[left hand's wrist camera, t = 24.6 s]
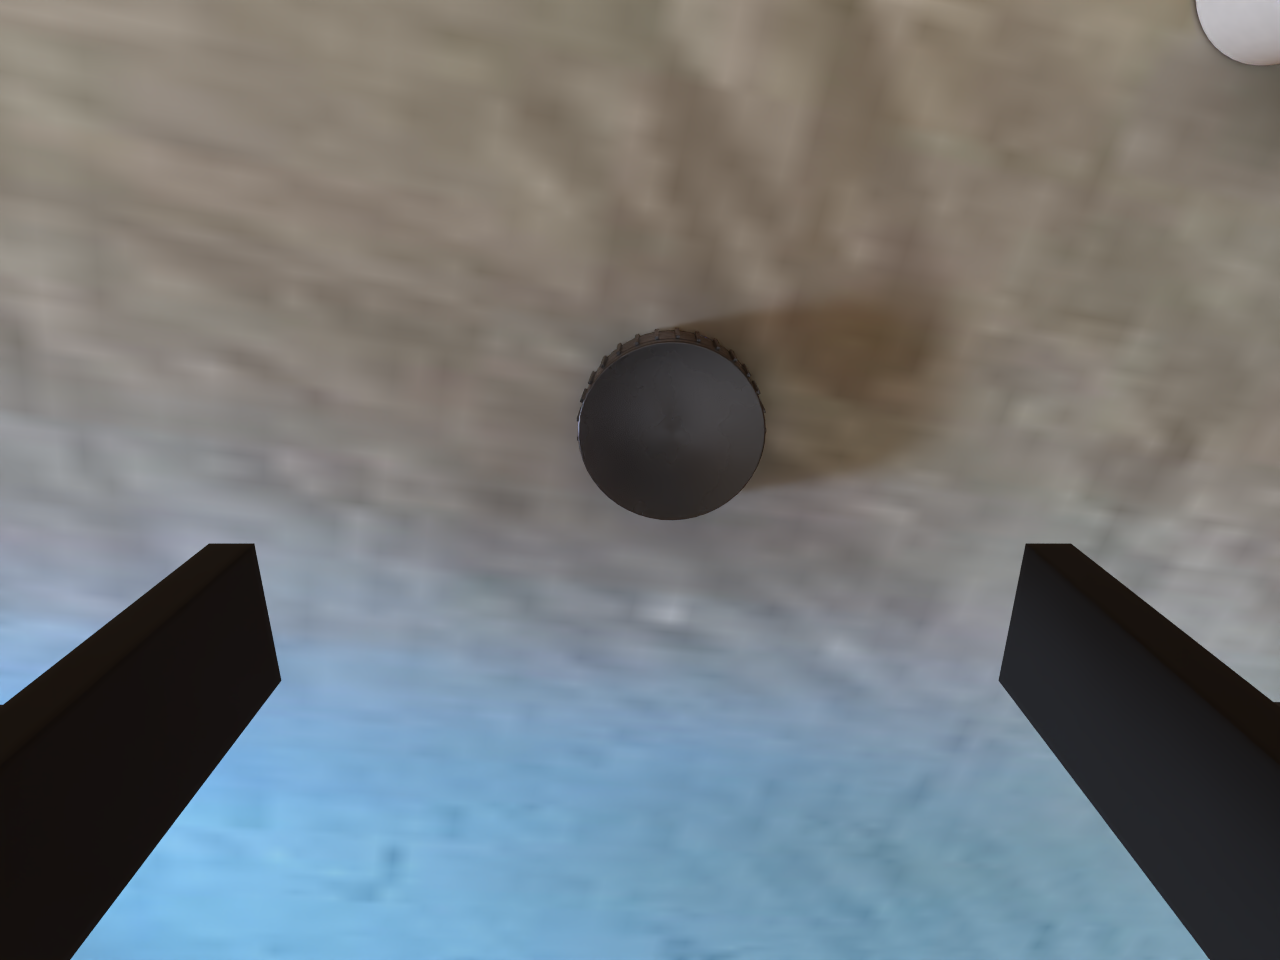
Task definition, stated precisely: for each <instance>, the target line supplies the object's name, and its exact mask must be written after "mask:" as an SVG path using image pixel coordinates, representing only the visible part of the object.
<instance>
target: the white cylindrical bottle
mask: <svg viewBox="0 0 1280 960" xmlns="http://www.w3.org/2000/svg"><path fill="white" fill-rule="evenodd" d="M1196 7H1197V12H1198V16H1199V20H1200V23H1201V25H1202V28H1203V30H1204V32H1205V33H1206V35H1207V37H1208V39H1209V40H1210V41H1211V42H1212V44H1213V45H1214V46H1215V47H1216V48H1217V49H1218V50H1220V51H1221V52H1222V53H1223V54H1225V55H1226V56H1228V57H1230V58H1232V59H1233V60H1236V61H1239V62H1241V63H1245V64H1250V65H1263V66H1265V65H1275V64H1280V0H1196Z"/></svg>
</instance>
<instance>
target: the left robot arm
mask: <svg viewBox="0 0 1280 960" xmlns="http://www.w3.org/2000/svg"><path fill="white" fill-rule="evenodd" d="M280 682H281V677H280V671H279V666H278V661H277V656H276V651H275V646H274V641H273V636H272V631H271V626H270V621H269V616H268V611H267V606H266V601H265V596H264V591H263V586H262V581H261V576H260V571H259V565H258V560H257V555H256V550H255V545H254V544H208V545H207V546H205V547H204V548H203V549H202V550H200V551H199V552H198V553H197V554H195V555H194V556H193V557H191V558H190V559H189V560H188V561H186V562H185V563H184V564H182V565H181V566H180V567H179V568H177V569H176V570H175V571H174V572H172V573H171V574H170V575H168V576H167V577H166V578H165V579H163V580H162V581H161V582H159V583H158V584H157V585H156V586H154V587H153V588H152V589H151V590H149V591H148V592H147V593H145V594H144V595H143V596H142V597H140V598H139V599H138V600H136V601H135V602H134V603H133V604H131V605H130V606H129V607H128V608H126V609H125V610H124V611H122V612H121V613H120V614H119V615H117V616H116V617H115V618H113V619H112V620H111V621H110V622H108V623H107V624H106V625H105V626H103V627H102V628H101V629H99V630H98V631H97V632H96V633H94V634H93V635H92V636H90V637H89V638H88V639H87V640H85V641H84V642H83V643H82V644H80V645H79V646H78V647H76V648H75V649H74V650H73V651H71V652H70V653H69V654H67V655H66V656H65V657H64V658H62V659H61V660H60V661H59V662H57V663H56V664H55V665H53V666H52V667H51V668H50V669H48V670H47V671H46V672H44V673H43V674H42V675H41V676H39V677H38V678H37V679H36V680H34V681H33V682H32V683H30V684H29V685H28V686H27V687H25V688H24V689H23V690H22V691H20V692H19V693H18V694H16V695H15V696H14V697H13V698H11V699H10V700H9V701H7V702H6V703H5V704H4V705H0V960H70V959H71V958H72V957H73V955H74V954H75V953H76V951H77V950H78V949H79V947H80V946H81V945H82V943H83V942H84V941H85V939H86V938H87V937H88V935H89V934H90V933H91V931H92V930H93V929H94V927H95V926H96V925H97V923H98V922H99V921H100V920H101V918H102V917H103V916H104V914H105V913H106V912H107V910H108V909H109V908H110V906H111V905H112V904H113V902H114V901H115V900H116V898H117V897H118V896H119V894H120V893H121V892H122V890H123V889H124V888H125V886H126V885H127V884H128V883H129V881H130V880H131V879H132V877H133V876H134V875H135V873H136V872H137V871H138V869H139V868H140V867H141V865H142V864H143V863H144V861H145V860H146V859H147V857H148V856H149V855H150V853H151V852H152V851H153V849H154V848H155V847H156V846H157V844H158V843H159V842H160V840H161V839H162V838H163V836H164V835H165V834H166V832H167V831H168V830H169V828H170V827H171V826H172V824H173V823H174V822H175V820H176V819H177V818H178V816H179V815H180V814H181V812H182V811H183V810H184V809H185V807H186V806H187V805H188V803H189V802H190V801H191V799H192V798H193V797H194V795H195V794H196V793H197V791H198V790H199V789H200V787H201V786H202V785H203V783H204V782H205V781H206V779H207V778H208V777H209V775H210V774H211V773H212V771H213V770H214V769H215V768H216V766H217V765H218V764H219V762H220V761H221V760H222V758H223V757H224V756H225V754H226V753H227V752H228V750H229V749H230V748H231V746H232V745H233V744H234V742H235V741H236V740H237V738H238V737H239V736H240V734H241V733H242V732H243V731H244V729H245V728H246V727H247V725H248V724H249V723H250V721H251V720H252V719H253V717H254V716H255V715H256V713H257V712H258V711H259V709H260V708H261V707H262V705H263V704H264V703H265V701H266V700H267V699H268V697H269V696H270V695H271V694H272V692H273V691H274V690H275V688H276V687H277V686H278V684H279V683H280ZM999 682H1000V683H1001V684H1002V686H1003V687H1004V688H1005V690H1006V691H1007V692H1008V694H1009V695H1010V696H1011V697H1012V699H1013V700H1014V701H1015V703H1016V704H1017V705H1018V707H1019V708H1020V709H1021V711H1022V712H1023V713H1024V715H1025V716H1026V717H1027V719H1028V720H1029V721H1030V723H1031V724H1032V725H1033V727H1034V728H1035V729H1036V731H1037V732H1038V733H1039V734H1040V736H1041V737H1042V738H1043V740H1044V741H1045V742H1046V744H1047V745H1048V746H1049V748H1050V749H1051V750H1052V752H1053V753H1054V754H1055V756H1056V757H1057V758H1058V760H1059V761H1060V762H1061V764H1062V765H1063V766H1064V768H1065V769H1066V770H1067V771H1068V773H1069V774H1070V775H1071V777H1072V778H1073V779H1074V781H1075V782H1076V783H1077V785H1078V786H1079V787H1080V789H1081V790H1082V791H1083V793H1084V794H1085V795H1086V797H1087V798H1088V799H1089V801H1090V802H1091V803H1092V805H1093V806H1094V807H1095V809H1096V810H1097V811H1098V812H1099V814H1100V815H1101V816H1102V818H1103V819H1104V820H1105V822H1106V823H1107V824H1108V826H1109V827H1110V828H1111V830H1112V831H1113V832H1114V834H1115V835H1116V836H1117V838H1118V839H1119V840H1120V842H1121V843H1122V844H1123V846H1124V847H1125V848H1126V849H1127V851H1128V852H1129V853H1130V855H1131V856H1132V857H1133V859H1134V860H1135V861H1136V863H1137V864H1138V865H1139V867H1140V868H1141V869H1142V871H1143V872H1144V873H1145V875H1146V876H1147V877H1148V879H1149V880H1150V881H1151V883H1152V884H1153V885H1154V886H1155V888H1156V889H1157V890H1158V892H1159V893H1160V894H1161V896H1162V897H1163V898H1164V900H1165V901H1166V902H1167V904H1168V905H1169V906H1170V908H1171V909H1172V910H1173V912H1174V913H1175V914H1176V916H1177V917H1178V918H1179V920H1180V921H1181V922H1182V924H1183V925H1184V926H1185V927H1186V929H1187V930H1188V931H1189V933H1190V934H1191V935H1192V937H1193V938H1194V939H1195V941H1196V942H1197V943H1198V945H1199V946H1200V947H1201V949H1202V950H1203V951H1204V953H1205V954H1206V955H1207V957H1208V958H1209V959H1210V960H1280V702H1273V701H1271V700H1270V699H1269V698H1267V697H1266V696H1265V695H1264V694H1262V693H1261V692H1260V691H1258V690H1257V689H1256V688H1255V687H1253V686H1252V685H1251V684H1250V683H1248V682H1247V681H1246V680H1244V679H1243V678H1242V677H1241V676H1239V675H1238V674H1237V673H1235V672H1234V671H1233V670H1232V669H1230V668H1229V667H1228V666H1227V665H1225V664H1224V663H1223V662H1221V661H1220V660H1219V659H1218V658H1216V657H1215V656H1214V655H1213V654H1211V653H1210V652H1209V651H1207V650H1206V649H1205V648H1204V647H1202V646H1201V645H1200V644H1198V643H1197V642H1196V641H1195V640H1193V639H1192V638H1191V637H1190V636H1188V635H1187V634H1186V633H1184V632H1183V631H1182V630H1181V629H1179V628H1178V627H1177V626H1175V625H1174V624H1173V623H1172V622H1170V621H1169V620H1168V619H1167V618H1165V617H1164V616H1163V615H1161V614H1160V613H1159V612H1158V611H1156V610H1155V609H1154V608H1152V607H1151V606H1150V605H1149V604H1147V603H1146V602H1145V601H1144V600H1142V599H1141V598H1140V597H1138V596H1137V595H1136V594H1135V593H1133V592H1132V591H1131V590H1129V589H1128V588H1127V587H1126V586H1124V585H1123V584H1122V583H1121V582H1119V581H1118V580H1117V579H1115V578H1114V577H1113V576H1112V575H1110V574H1109V573H1108V572H1106V571H1105V570H1104V569H1103V568H1101V567H1100V566H1099V565H1098V564H1096V563H1095V562H1094V561H1092V560H1091V559H1090V558H1089V557H1087V556H1086V555H1085V554H1083V553H1082V552H1081V551H1080V550H1078V549H1077V548H1076V547H1075V546H1073V545H1072V544H1026V545H1025V550H1024V555H1023V560H1022V565H1021V570H1020V576H1019V581H1018V586H1017V591H1016V596H1015V601H1014V606H1013V611H1012V616H1011V621H1010V626H1009V631H1008V636H1007V641H1006V646H1005V651H1004V656H1003V661H1002V666H1001V671H1000V677H999Z"/></svg>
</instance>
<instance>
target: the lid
mask: <svg viewBox="0 0 1280 960" xmlns="http://www.w3.org/2000/svg"><path fill="white" fill-rule="evenodd" d="M750 376H751V375H750V373H749V371H748V369H747V367H746V365H745V364H743V365H741V363H740V362H739V361H738V360H737V358H736V356H735V354H734V352H733V351H732V350H730V351H728V350H726V349H725V348H724V347H722V346H721V345H719V343H718V340H717V339H715V338H714V340H713V341H712V340H710V339H708V338H706V337H704V336H700V334H699V332H697V331H695V334H694V333H689V332H684V331H679V328H675V331H659V329H655V332H653V333H649V334H645V335H642V336H640V335H639V334H637V335H635V338H634V339H632V340H630V341H629V342H627V343H625V344H623V345H622V344H621V343H620V344H618V346H617V349H616V350H615V351H614V352H612V353H611V354H610V355H609V356H608V357H606V356H604V357H603V359H602V362H601V365H600V366H599V368H598V369H597V371H596V372H594V371H593V372H592V374H591V376H590V379H589V382H588V384H589V387H588V389H584V392H583V395H582V397H581V400H580V402H582V407H581V408H580V411H579V413H578V416H577V421H578V437H577V440H578V441H579V448H580V452H581V456H582V459H583V462H584V464H585V466H586V469H587V471H588V472H589V474H590V476H591V477H592V479H593V481H594V482H595V483H596V484H597V486H598V487H599V488H600V489H601V490H602V491H603V492H604V493H605V494H606V495H607V496H608V497H609V498H610V499H611V500H613V501H614V502H615V503H617V504H618V505H620V506H622V507H623V508H625V509H627V510H629V511H631V512H633V513H636V514H638V515H642V516H645V517H649V518H654V519H660V520H681V519H688V518H693V517H697V516H700V515H703V514H706V513H709V512H711V511H713V510H715V509H717V508H719V507H720V506H722V505H724V504H725V503H727V502H728V501H730V500H731V499H732V498H733V497H734V496H736V495H737V494H738V493H739V492H740V491H741V490H742V489H743V487H744V486H745V485H746V484H747V482H748V481H749V480H750V478H751V477H752V475H753V473H754V472H755V470H756V468H757V466H758V464H759V461H760V458H761V456H762V452H763V448H764V443H765V433H766V428H765V417H764V413H765V409H764V407H763V405H762V403H761V401H760V398H759V396H758V394H760V391H759V389H758V387H757V385H756V383H755V381H752V382H751V380H750V378H749V377H750Z"/></svg>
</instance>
